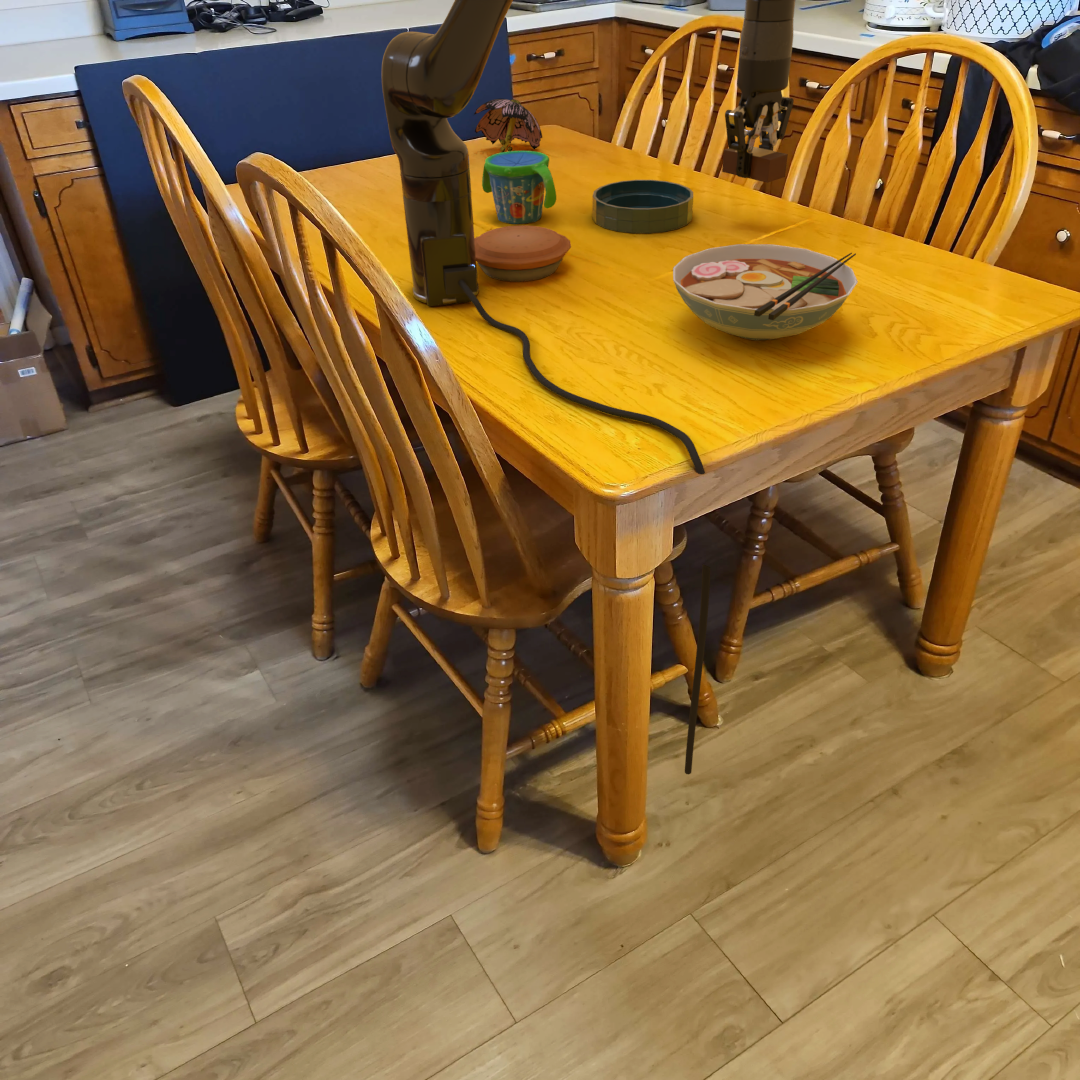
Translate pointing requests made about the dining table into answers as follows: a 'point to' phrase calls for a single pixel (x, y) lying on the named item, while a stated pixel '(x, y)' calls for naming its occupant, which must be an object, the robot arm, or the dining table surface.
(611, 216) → the snack bowl
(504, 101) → the decorative flower
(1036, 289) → the dining table surface
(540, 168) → the snack cup
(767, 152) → the oat bar
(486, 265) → the pie
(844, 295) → the ramen bowl
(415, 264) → the robot arm
